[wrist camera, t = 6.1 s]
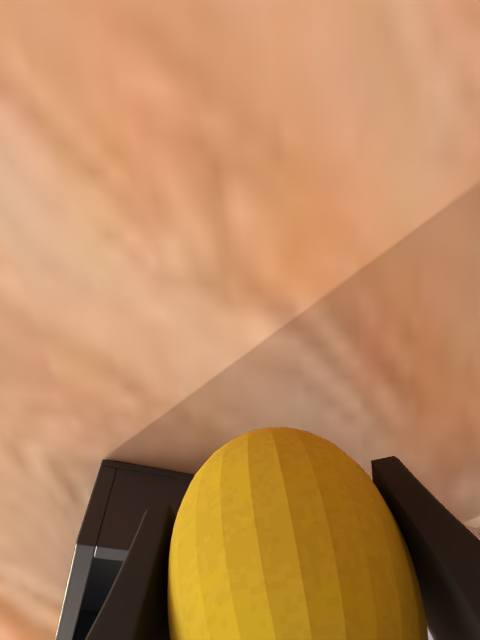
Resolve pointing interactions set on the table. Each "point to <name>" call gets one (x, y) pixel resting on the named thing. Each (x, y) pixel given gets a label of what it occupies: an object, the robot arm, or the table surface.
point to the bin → (111, 536)
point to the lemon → (289, 548)
